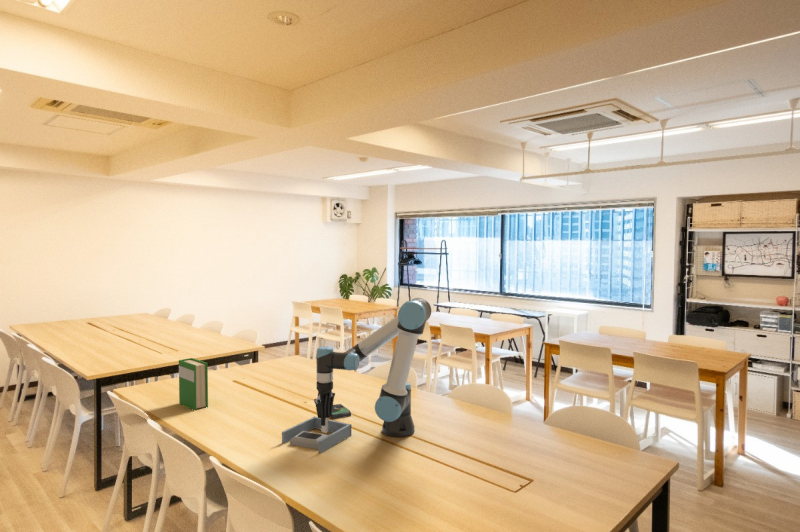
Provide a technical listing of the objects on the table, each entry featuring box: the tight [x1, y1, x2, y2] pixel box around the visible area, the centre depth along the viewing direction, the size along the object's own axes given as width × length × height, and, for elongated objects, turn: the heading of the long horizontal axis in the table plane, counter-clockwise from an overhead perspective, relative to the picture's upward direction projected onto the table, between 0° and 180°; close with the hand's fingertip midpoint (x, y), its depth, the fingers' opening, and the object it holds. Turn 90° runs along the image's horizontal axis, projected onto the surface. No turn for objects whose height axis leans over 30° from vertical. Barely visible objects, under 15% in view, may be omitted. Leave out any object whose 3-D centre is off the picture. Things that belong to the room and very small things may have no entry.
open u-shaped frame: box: [281, 416, 352, 454], centre depth 221 cm, size 21×22×5 cm
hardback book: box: [178, 357, 209, 411], centre depth 267 cm, size 18×7×24 cm, turn 48°
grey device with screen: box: [289, 431, 329, 450], centre depth 217 cm, size 10×4×15 cm
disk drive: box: [329, 403, 352, 420], centre depth 256 cm, size 10×3×15 cm
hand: (324, 431), depth 226 cm, fingers closed
